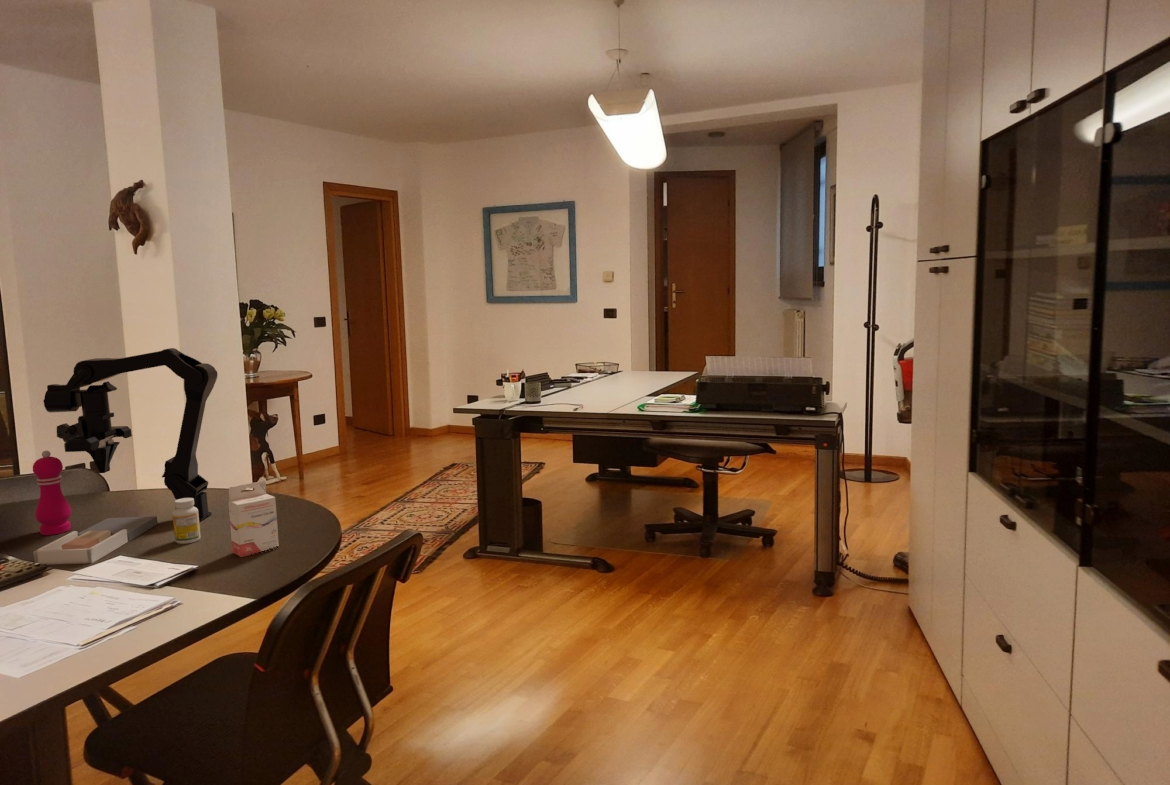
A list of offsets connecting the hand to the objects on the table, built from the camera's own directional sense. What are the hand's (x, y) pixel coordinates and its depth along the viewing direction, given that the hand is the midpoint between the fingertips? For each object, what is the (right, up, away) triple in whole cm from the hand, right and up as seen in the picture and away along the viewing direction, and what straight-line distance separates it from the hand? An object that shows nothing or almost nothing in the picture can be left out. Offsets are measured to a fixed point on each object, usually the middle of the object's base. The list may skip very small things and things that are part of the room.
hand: (103, 472), depth 196 cm
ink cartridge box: (+47, -15, -22) cm, 54 cm away
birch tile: (+8, -15, -16) cm, 23 cm away
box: (+8, -16, -20) cm, 27 cm away
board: (+8, -14, -6) cm, 17 cm away
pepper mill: (-10, -14, -3) cm, 17 cm away
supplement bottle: (+28, -14, -13) cm, 34 cm away
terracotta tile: (+8, -15, -21) cm, 27 cm away
